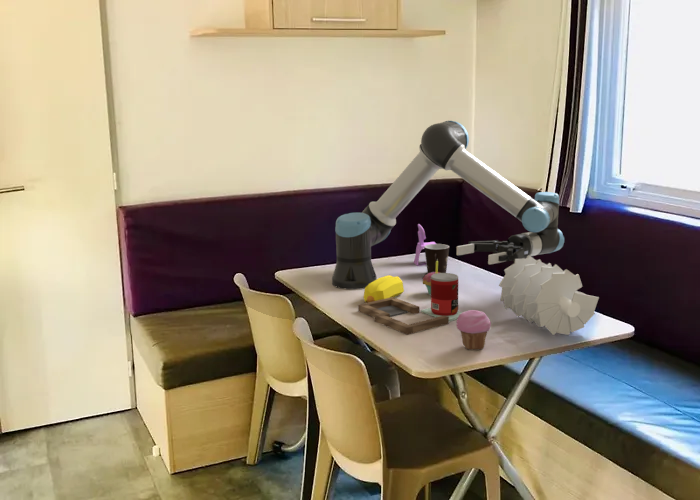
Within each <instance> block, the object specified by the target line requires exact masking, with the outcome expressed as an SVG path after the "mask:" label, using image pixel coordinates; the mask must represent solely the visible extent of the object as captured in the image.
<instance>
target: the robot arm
mask: <svg viewBox="0 0 700 500" xmlns="http://www.w3.org/2000/svg"><path fill="white" fill-rule="evenodd" d="M469 136H470V135H469V133H468V130H467V129H466V126H464V125H463V124H462V123H460V122H458V121H453V120H446V121H443V122H438V123H434V124H431V125H429V126H428V127H426V129H425V130H424V131H423V133H422V137H421V138H420V139H421V140H420V144H419V152H418V154H416V156H415V157H414V158H413V159H412V161H410V163H409V164H408V165H407V166H406V167H405V168H404V170H403V171H402V172H401V173H400V174H399V175H398V177H397V178H396V179H395V180H394V181H393V182H392V184H391V185H390V186H389V187H388V188H387V190H386V191H384V192H383V194H381V196H380V197H379V198H378V200H377V201H370V202H369V203H368V205H367V206H366V207H365V208H364V210H362V212H349V213H344V214H342V215H340V216H338V217H337V219H336V221H335V227H334V228H335V229H334V230H335V245H336V250H335V251H336V264H335V267H334V271H333V274H332V277H331V279H332V280H331V284H332V286H334V287H335V286H337V287H336V288H338V287H340V288H339V289H344V288H346V290H360V289H361V290H362V289H365V287H366V286H367V285H368V284H370V283H371V282H373V281H375V280H377V279H378V278H377V274H376V271H375V269H374V265H373V263H372V262H373V261H372V247H373V246H375V245H377V244H380V243H381V242H383V241H385V240H386V239H387V238H388V236H389V235H390V233H391V230H392V229H393V228H394V226H395V225H396V224H397V219H396V218H397V217H398V216H399V214H401V212H402V211H403V210H404V209H405V208H406V207H407V206H408V205H409V204H410V203H411V201H412V200H413V199H414V198H415V197H416V196H417V194H419V192H420V191H421V190H423V188H424V187H425V186H426V184H427V183H429V181H430V180H431V179H432V178H433V176H434V175H435V174H436V173H438V171H439V170H445V171H452V172H453V173H454V174H456V175H457V176H458V177H460V178H461V179H462V180H464V181H466V182H467V183H468V184H470V185H471V186H472V187H473V188H474V189H476V190H478V191H479V192H480V193H482V194H483V195H485V196H486V197H487V198H489V199H490V200H491V201H493V202H494V203H496V204H497V205H498V206H500V207H501V208H502V209H504V210H505V211H507V212H508V213H510V214H511V215H512V216H514V217H515V218H516V219H518V220H519V222H521V223H522V226H523V227H524V229H525V230H527V231H528V232H522V233H518V234H513V235H510V237H508V239H507V240H502V241H499V239H495V240H477V241H476V240H475V241H472V240H471V241H468V242H467V243H468V244H463V245H457V246H456V256H464V255H469V254H474V253H475V252H486V253H487V252H488V253H489V252H490V253H491V252H492V254H488V257H487V258H488V259H487V260H488V261H487V264H488V265H494V264H500V263H504V262H513V263H515V259H526V258H527V256H528V255H529V256H531V257H534V256H539V255H544V254H552V253H554V252H557V251H560V250H561V249H562V248H563V247H564V243H565V236H564V235H563V232H562V231H561V230H560V229H559V228H558V225H559V209H560V196H559V194H558V193H557V192H553V191H540V192H536V193H535V195H534V198H533V197H531V196H530V195H528V193H526V192H524V191H523V190H522V189H520V188H519V187H517V186H516V185H515V184H513V183H512V182H511V181H509V180H508V179H506V178H505V177H503V176H502V175H501V174H499V173H498V172H497V171H496V170H494V169H493V168H491V167H490V166H488V165H487V164H485V163H484V162H483V161H482V160H480V159H479V158H477V157H476V156H475V155H473V154H472V153H470V152H469V151H468V150H466V149H467V148H468V145H469V142H470V140H469V139H470V137H469Z"/></svg>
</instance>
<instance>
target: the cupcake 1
mask: <svg viewBox="0 0 700 500" xmlns="http://www.w3.org/2000/svg"><path fill="white" fill-rule="evenodd" d="M437 260H438V259H437ZM437 273H439V272H438V261H436V272H431V273H428V272H427V274H425V275H424V276H423V277H422V285H425V287H426V289H427V292H428V295H430V296H431V276H432V275H433V274H437Z"/></svg>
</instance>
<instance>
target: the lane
mask: <svg viewBox="0 0 700 500" xmlns="http://www.w3.org/2000/svg"><path fill="white" fill-rule="evenodd" d="M357 306H358V307H357V308H358V309H357V310H358V312H359V311H360V313H362V314H365V315H367V316H368V317H369V316H370V317H372V318H374V322H376V323H378V324H380V325H382V326H385V327H388V328H389V329H393V330H395V331H397V332H399V333H402V334H405V335H406V336H407V335H412V334H414V333H416V334H417V333H420V332H423V331H427V330H430V329H434V328H438V327H442V326H446V325H449V324H450V321H449V317H447V316H440V317H432V318H428V319H425V320H419V321H417V322H412V323H409V324H408V323H405V322H403V321H401V320H398V319H395V318H393V317H396V316H399V315H400V316H401V315H404V314H408V313H410V314H413V315H416V314H418V315H419V314H420V306H419V305H416V304H414V303H410V302H407V301H405V300H402V299H399V298H397V297H390V298H386V299H382V300H377V301H373V302H364V303H360V304H358V305H357Z"/></svg>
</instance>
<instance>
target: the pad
mask: <svg viewBox="0 0 700 500" xmlns="http://www.w3.org/2000/svg"><path fill="white" fill-rule="evenodd" d="M463 312H464V311H463ZM463 312H462V311H460V310H458V312H457V313H456V314H455V315H450V316H447V317H449V322H452V321H457V318H458V317H459V315H460V314H461V313H463ZM420 313H422V314H426V315H428V316H430V317H432V318H436V317H440V315H436V314H433V313H432V311H431V307H429V308H428V307H427V308H424V309H421V310H420Z"/></svg>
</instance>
